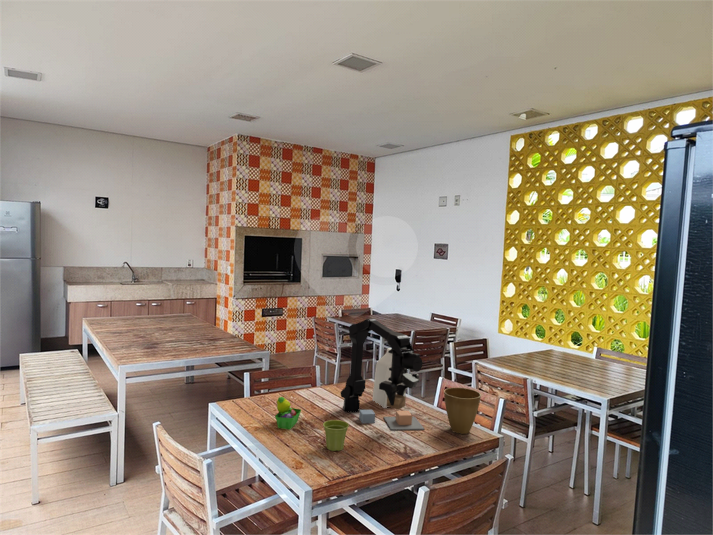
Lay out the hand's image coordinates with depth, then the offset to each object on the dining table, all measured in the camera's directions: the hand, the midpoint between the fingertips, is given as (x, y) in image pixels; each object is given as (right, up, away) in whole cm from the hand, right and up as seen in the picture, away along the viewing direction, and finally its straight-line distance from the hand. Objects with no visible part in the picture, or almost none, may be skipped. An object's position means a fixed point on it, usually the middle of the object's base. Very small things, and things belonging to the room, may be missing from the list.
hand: (395, 403), depth 193 cm
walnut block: (0, -1, 0) cm, 1 cm away
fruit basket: (-44, -9, -1) cm, 45 cm away
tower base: (+4, -11, +8) cm, 14 cm away
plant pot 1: (-24, -10, -20) cm, 33 cm away
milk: (-1, -10, +34) cm, 35 cm away
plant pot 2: (+27, -12, +3) cm, 30 cm away
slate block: (-12, -10, +9) cm, 18 cm away
